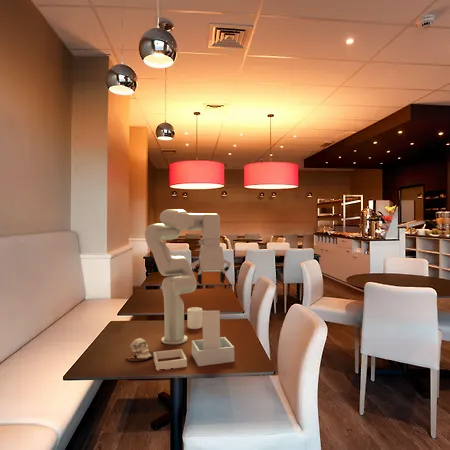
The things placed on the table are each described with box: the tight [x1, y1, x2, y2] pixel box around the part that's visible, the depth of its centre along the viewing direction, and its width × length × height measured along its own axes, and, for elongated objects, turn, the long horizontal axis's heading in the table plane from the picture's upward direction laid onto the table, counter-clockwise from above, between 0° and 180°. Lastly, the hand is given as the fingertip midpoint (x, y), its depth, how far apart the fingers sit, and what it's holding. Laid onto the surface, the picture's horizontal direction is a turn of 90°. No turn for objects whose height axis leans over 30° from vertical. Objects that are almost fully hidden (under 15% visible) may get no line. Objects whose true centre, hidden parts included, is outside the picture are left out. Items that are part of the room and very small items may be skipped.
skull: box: [127, 337, 154, 362], centre depth 151 cm, size 12×10×10 cm
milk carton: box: [202, 310, 221, 350], centre depth 149 cm, size 7×7×19 cm
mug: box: [186, 306, 204, 330], centre depth 193 cm, size 8×12×10 cm, turn 85°
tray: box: [152, 348, 188, 371], centre depth 144 cm, size 12×12×3 cm
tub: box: [191, 336, 235, 367], centre depth 149 cm, size 13×15×6 cm
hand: (211, 283), depth 149 cm, fingers open, 9 cm apart
